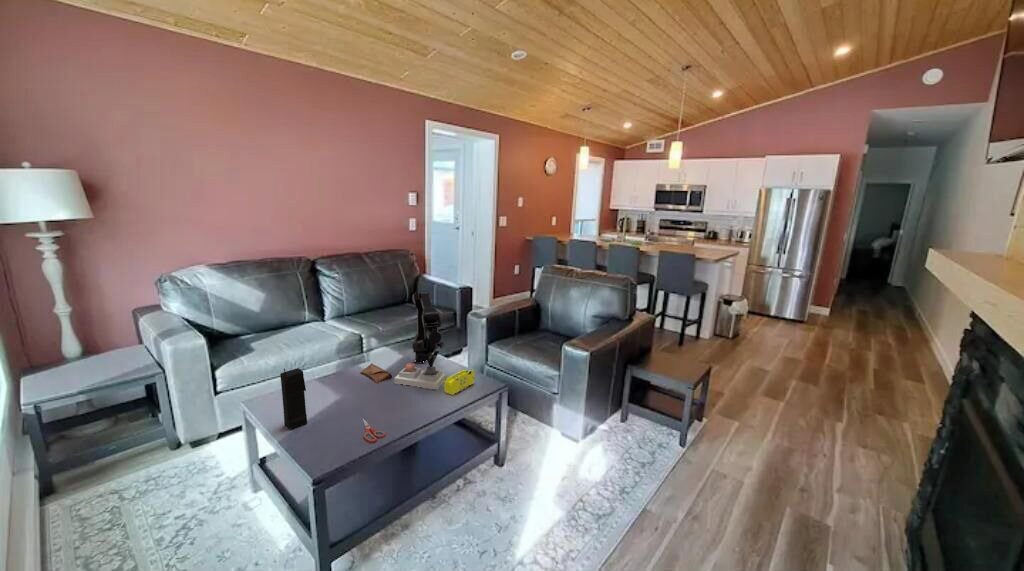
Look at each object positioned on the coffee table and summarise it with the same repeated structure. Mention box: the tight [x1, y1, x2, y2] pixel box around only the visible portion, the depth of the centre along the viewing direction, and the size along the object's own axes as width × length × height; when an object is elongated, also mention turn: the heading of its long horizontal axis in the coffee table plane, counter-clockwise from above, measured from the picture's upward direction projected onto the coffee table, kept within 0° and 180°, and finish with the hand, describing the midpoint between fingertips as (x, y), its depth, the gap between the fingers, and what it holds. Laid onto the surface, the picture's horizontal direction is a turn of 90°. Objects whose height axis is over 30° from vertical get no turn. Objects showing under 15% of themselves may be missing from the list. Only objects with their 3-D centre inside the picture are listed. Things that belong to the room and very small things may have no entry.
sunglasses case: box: [359, 362, 393, 384], centre depth 211 cm, size 18×7×7 cm, turn 50°
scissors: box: [362, 418, 386, 444], centre depth 165 cm, size 8×21×2 cm, turn 45°
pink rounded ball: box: [405, 362, 416, 372], centre depth 206 cm, size 4×4×3 cm
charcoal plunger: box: [425, 365, 437, 375], centre depth 204 cm, size 4×4×3 cm
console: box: [393, 366, 447, 391], centre depth 206 cm, size 12×22×5 cm, turn 77°
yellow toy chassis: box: [443, 369, 475, 396], centre depth 200 cm, size 16×6×8 cm, turn 146°
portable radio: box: [280, 368, 308, 430], centre depth 164 cm, size 8×6×25 cm
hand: (430, 366), depth 203 cm, fingers closed
